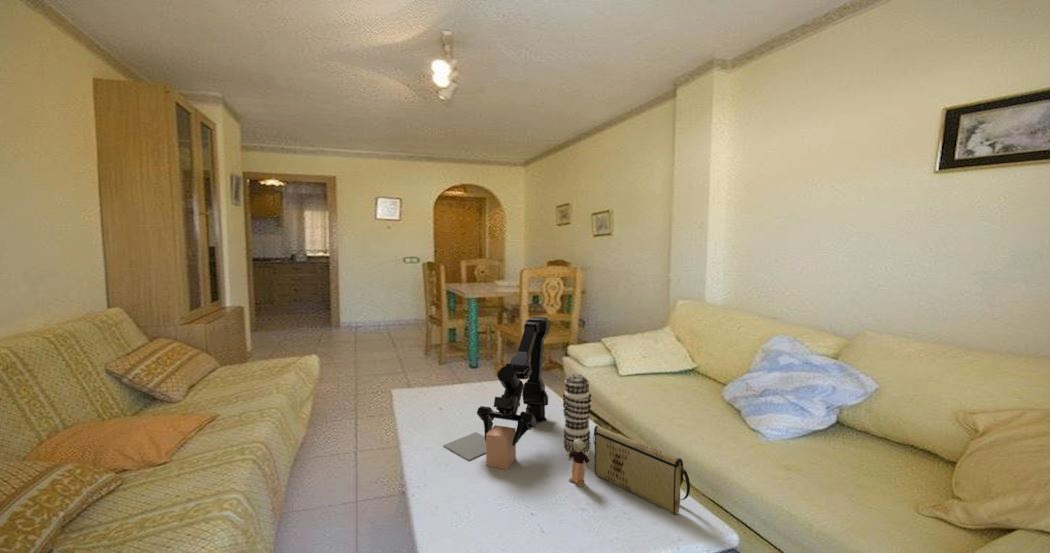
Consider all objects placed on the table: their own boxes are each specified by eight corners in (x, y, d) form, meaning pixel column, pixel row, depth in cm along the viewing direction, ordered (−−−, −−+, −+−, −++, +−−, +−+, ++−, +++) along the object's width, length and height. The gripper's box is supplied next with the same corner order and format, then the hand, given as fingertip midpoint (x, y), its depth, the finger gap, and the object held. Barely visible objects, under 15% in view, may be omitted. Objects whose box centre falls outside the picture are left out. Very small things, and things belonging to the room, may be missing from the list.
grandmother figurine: (563, 482, 126) (563, 439, 125) (568, 475, 130) (568, 434, 128) (589, 489, 123) (589, 445, 121) (593, 482, 126) (594, 439, 125)
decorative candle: (590, 459, 139) (590, 382, 137) (561, 456, 141) (561, 380, 138) (591, 446, 148) (592, 373, 146) (564, 443, 150) (564, 371, 147)
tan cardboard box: (495, 455, 142) (495, 425, 141) (515, 458, 140) (515, 428, 139) (486, 465, 136) (485, 434, 135) (507, 469, 133) (507, 437, 132)
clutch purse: (694, 509, 113) (696, 453, 112) (680, 521, 109) (682, 462, 107) (602, 465, 135) (603, 418, 134) (587, 473, 131) (588, 424, 129)
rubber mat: (475, 433, 158) (475, 432, 158) (501, 445, 148) (501, 444, 148) (443, 446, 148) (443, 445, 148) (468, 461, 139) (468, 459, 138)
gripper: (478, 381, 143) (463, 428, 133) (533, 388, 136) (521, 437, 127) (489, 397, 151) (475, 442, 141) (541, 403, 144) (530, 451, 135)
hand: (499, 443), depth 136 cm, fingers open, 9 cm apart
